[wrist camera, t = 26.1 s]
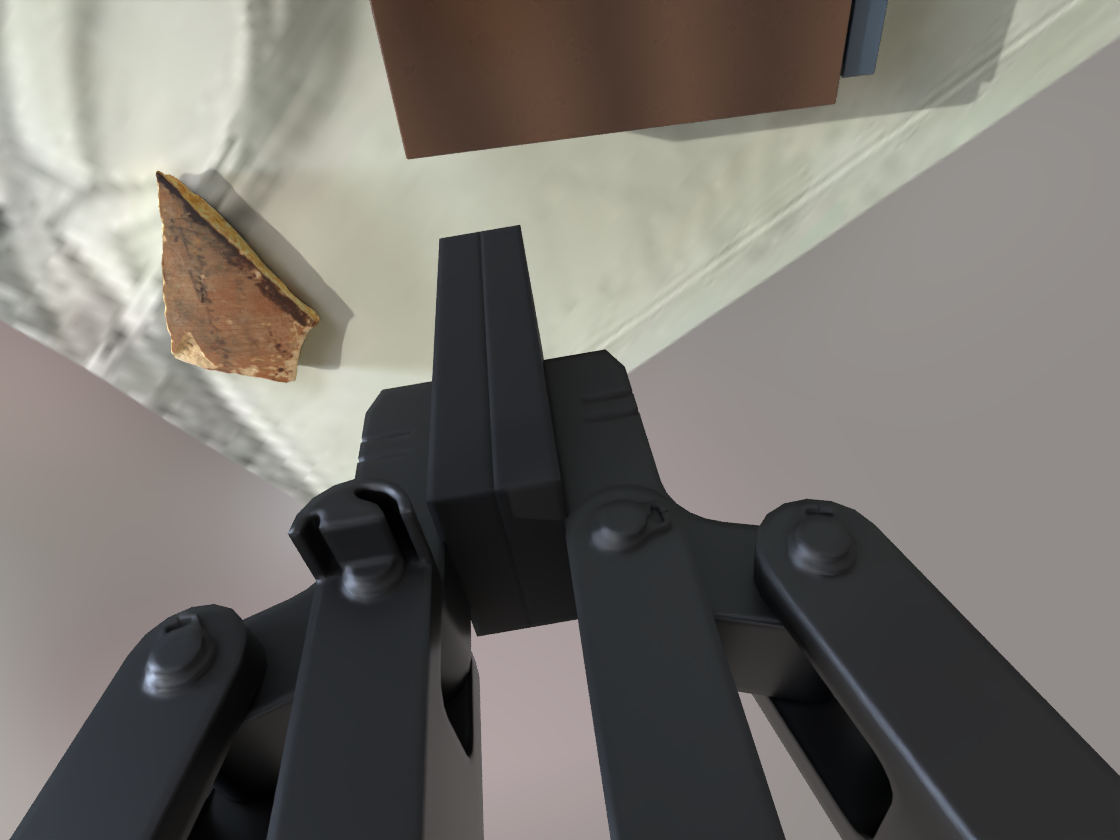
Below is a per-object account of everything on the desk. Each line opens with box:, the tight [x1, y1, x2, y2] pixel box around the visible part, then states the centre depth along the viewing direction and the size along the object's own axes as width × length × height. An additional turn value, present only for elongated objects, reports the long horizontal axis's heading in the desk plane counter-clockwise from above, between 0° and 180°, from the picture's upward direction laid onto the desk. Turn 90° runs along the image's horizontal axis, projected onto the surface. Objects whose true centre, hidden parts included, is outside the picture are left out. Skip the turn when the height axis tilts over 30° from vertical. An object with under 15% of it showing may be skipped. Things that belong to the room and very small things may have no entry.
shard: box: [156, 171, 320, 383], centre depth 36 cm, size 11×8×2 cm
